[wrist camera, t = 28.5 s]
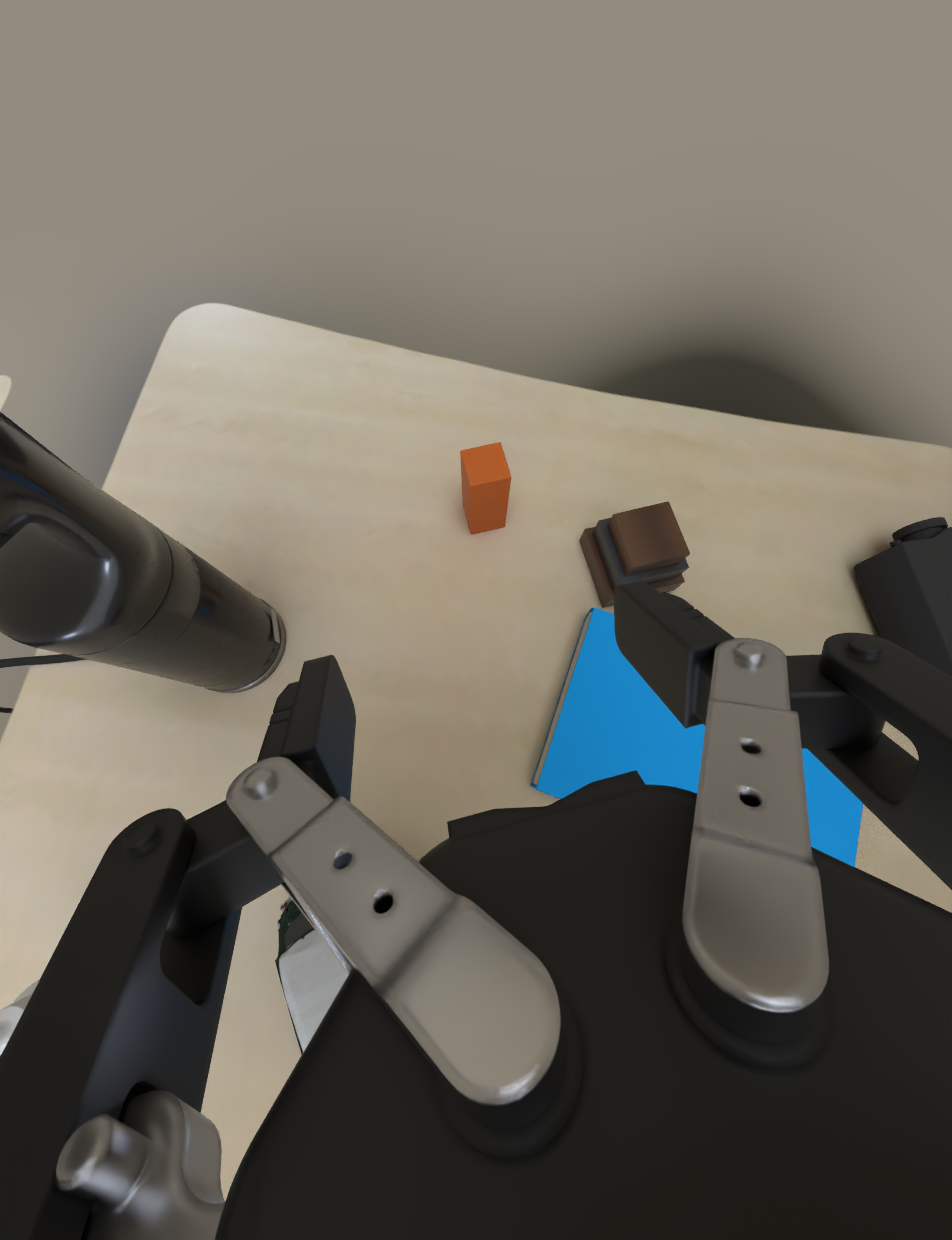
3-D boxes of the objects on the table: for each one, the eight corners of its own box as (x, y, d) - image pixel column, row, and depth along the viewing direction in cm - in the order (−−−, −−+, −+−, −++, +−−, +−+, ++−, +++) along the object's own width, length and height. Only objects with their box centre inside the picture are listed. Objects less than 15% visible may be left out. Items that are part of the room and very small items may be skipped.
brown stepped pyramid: (602, 608, 45) (624, 583, 39) (579, 540, 47) (596, 505, 41) (674, 590, 46) (708, 562, 39) (648, 524, 48) (676, 487, 41)
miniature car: (366, 1138, 34) (335, 1251, 26) (284, 892, 39) (236, 927, 31) (476, 1072, 35) (476, 1162, 28) (383, 841, 40) (361, 862, 32)
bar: (471, 534, 48) (470, 486, 39) (462, 504, 49) (460, 450, 40) (504, 526, 48) (511, 477, 39) (496, 496, 49) (500, 441, 40)
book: (851, 913, 35) (535, 793, 37) (810, 895, 39) (528, 788, 41) (878, 697, 39) (595, 600, 41) (839, 702, 43) (583, 614, 45)
